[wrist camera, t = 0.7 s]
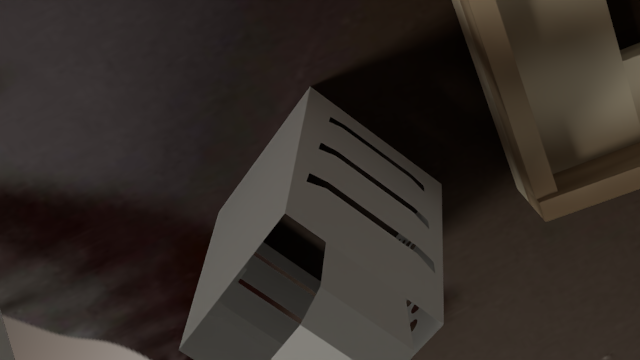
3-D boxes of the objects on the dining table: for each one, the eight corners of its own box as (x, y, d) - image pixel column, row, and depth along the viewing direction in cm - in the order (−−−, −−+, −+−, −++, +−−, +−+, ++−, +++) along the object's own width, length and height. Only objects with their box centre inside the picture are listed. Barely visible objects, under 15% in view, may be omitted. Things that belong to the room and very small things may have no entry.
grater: (441, 184, 35) (541, 397, 16) (343, 297, 38) (331, 588, 19) (310, 86, 34) (251, 194, 15) (219, 211, 37) (73, 435, 18)
